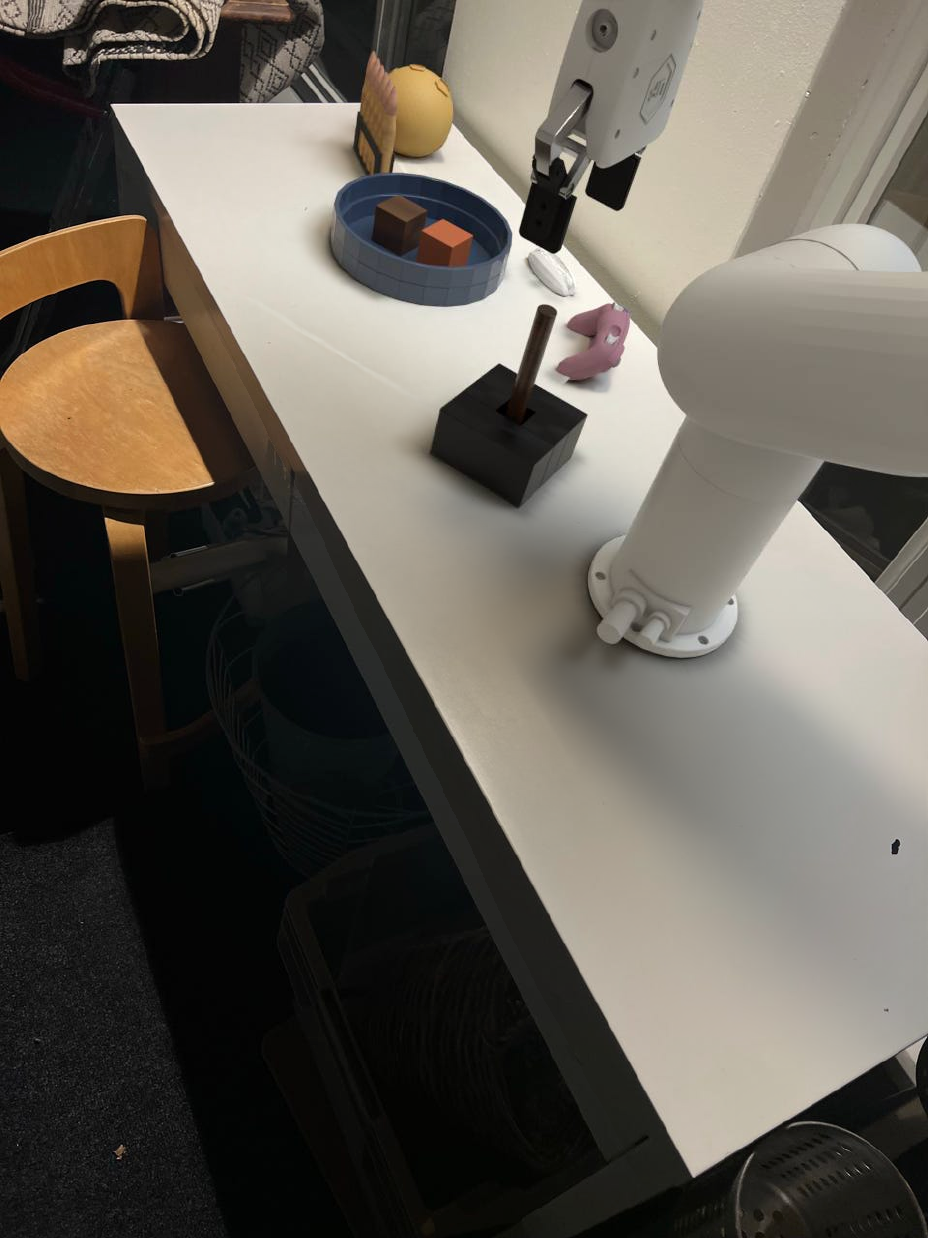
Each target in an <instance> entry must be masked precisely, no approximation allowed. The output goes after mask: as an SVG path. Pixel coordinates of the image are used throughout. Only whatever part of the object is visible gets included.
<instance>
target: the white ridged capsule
mask: <svg viewBox="0 0 928 1238" xmlns="http://www.w3.org/2000/svg"><path fill="white" fill-rule="evenodd" d="M527 260H528V263H529V266H530V268H531V270H532V271H533V273H534V274H535V275H536V277H537V278H538V279H539V280H540V281H541V282H542V283H543V284H544V285H545V286H546V287H548V289H550V290H551V291H552V292H554V293H556V294H557V295H559V296H562V297H564V296H575V295H576V294H577V292H578V289H579V287H578V282H577V280H576V277H575V275H574V273H573V272H572V270H571V269H570V267H569V266H568V264H566V262H565V261H564V260H563V259H562V257H560V256H559V255H557V254H556V253H555V254H552V253H550V252H548V251H546V250H544V249H542V248H541V247H539V246H537V247H536V248H535V250H532V251H530V252H529V253H528V255H527Z"/></svg>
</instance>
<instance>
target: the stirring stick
mask: <svg viewBox="0 0 928 1238" xmlns="http://www.w3.org/2000/svg"><path fill="white" fill-rule="evenodd" d="M557 316H558V310H557V309H556V308H555V307H554V306H552V305H550V304H548V303H547V304H545V303H542V304H539V305H538V306H537V308H536V311H535V315H534V319H533V321H532V325H531V327H530V331H529V334H528V338H527V341H526V345H525V347H524V351H523V354H522V358H521V361H520V365H519V368H518V370H517V377H516V381H515V384H514V387H513V390H512V394H511V397H510V400H509V404H508V407H507V410H506V414H505V417H507V418H508V419H510V420H512V421H513V422H515V423H517V424H518V425H520V426H521V424H522V421H523V418H524V415H525V412H526V408H527V405H528V402H529V399H530V396H531V393H532V390H533V387H534V384H536V380H537V377H538V374H539V372H540V368H541V365H542V362H543V358H544V356H545V352H546V350H547V346H548V344H549V340H550V337H551V334H552V331H553V328H554V325H555V321H556V319H557Z"/></svg>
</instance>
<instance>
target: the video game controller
mask: <svg viewBox="0 0 928 1238" xmlns="http://www.w3.org/2000/svg"><path fill="white" fill-rule="evenodd" d="M630 323H631V314H630V313H629V311H628V310H627V309H626V308H624V307H623V306H622V305H617V303H616V301H614V302H612V303H605V304H603V305H600V306H599V307H596V308H594V309H590V310H587V311H583V312H580V313H577V314H576V315H574V316H572V317H571V318H570V319H569V320H568V322H567V324H566V327H567V329H570V330H571V331H574V332H576V333H579V334H580V335H583V336H589V337H591V336H593V338H591V340H590V341H589V342H588V348H587V349H586V350H585V351H581V352H579V353H577V354H573V355H570V356H567V357H565V358H564V359H562V360H561V361H559V363H558V364H557V367H556V371H557V372H558V373H560V374H561V375H564V376H566V377H569V378H568V380H569V381H581V380H585V379H588V378H591V377H593V376H597V375H599V374H601V373H602V374H603V373H606V372H608V371H610V370H611V369H615V368H617V367H618V366H620V364H621V362H622V355H623V354H624V352H625V349H626V347H625V344H624V343H625V341H626V340H627V336H628V334H629V328H630V325H631V324H630Z"/></svg>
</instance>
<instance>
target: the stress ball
mask: <svg viewBox="0 0 928 1238" xmlns="http://www.w3.org/2000/svg"><path fill="white" fill-rule="evenodd" d="M387 74H388V78H389V79H391V80H392V84H393V87H394V86H395V87H396V90H397V113H396V134H395V141H394V148H393V152H394V153H397V154H399V155H402V156H404V157H410V158H420V157H421V158H422V157H425V156H428V155H430V154H432V153H434V152H436V151H439V150H440V149H441V148H442V147H443V146H444V144H445V143H446V142H447V140H448V136H449V134H450V132H451V129H452V126H453V122H454V105H453V100H452V97H451V90H450V86H449V85H448V84H447V82H445V80H443V78H442V77H439V76H438V75H437V74H436V73H435V72H433V71H432V70H430V69H428V68H426V67H425V66H424V65H421V64H415V63H413V64H409V65H407V66H402V67H399V68H398V67H396V68H395V69H392V70H391V71H389V72H387Z"/></svg>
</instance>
